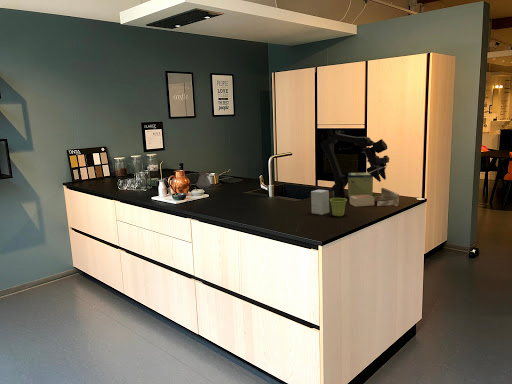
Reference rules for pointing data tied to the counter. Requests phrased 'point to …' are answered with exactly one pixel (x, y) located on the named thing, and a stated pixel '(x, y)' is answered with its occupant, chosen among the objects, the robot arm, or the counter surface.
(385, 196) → the display nook
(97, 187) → the counter surface
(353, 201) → the beige rectangular block
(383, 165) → the robot arm
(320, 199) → the supplement box
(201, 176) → the coffee pot
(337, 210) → the plant pot
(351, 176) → the protein box
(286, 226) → the counter surface
